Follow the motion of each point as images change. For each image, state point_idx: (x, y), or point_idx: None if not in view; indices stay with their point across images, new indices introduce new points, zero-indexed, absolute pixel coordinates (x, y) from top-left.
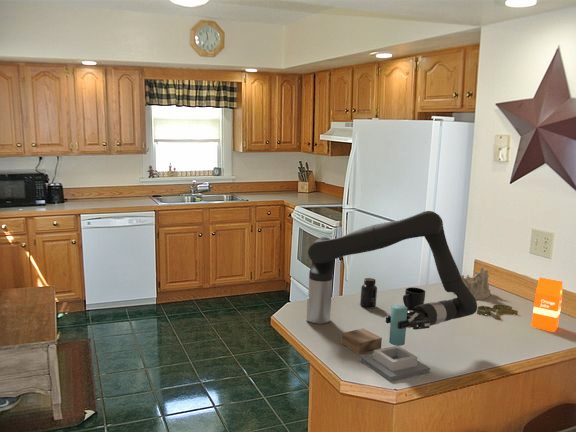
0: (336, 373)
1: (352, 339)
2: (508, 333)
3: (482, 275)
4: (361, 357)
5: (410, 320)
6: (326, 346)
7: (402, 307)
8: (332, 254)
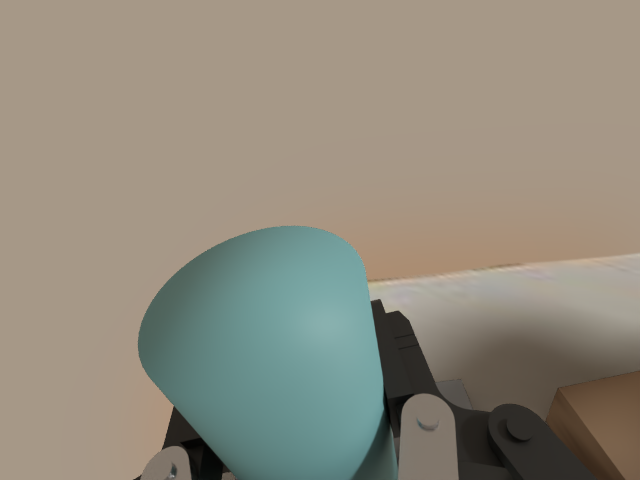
0: (372, 283)
1: (624, 374)
2: None
3: None
4: (453, 380)
5: (154, 477)
6: (625, 315)
7: (225, 324)
8: None
